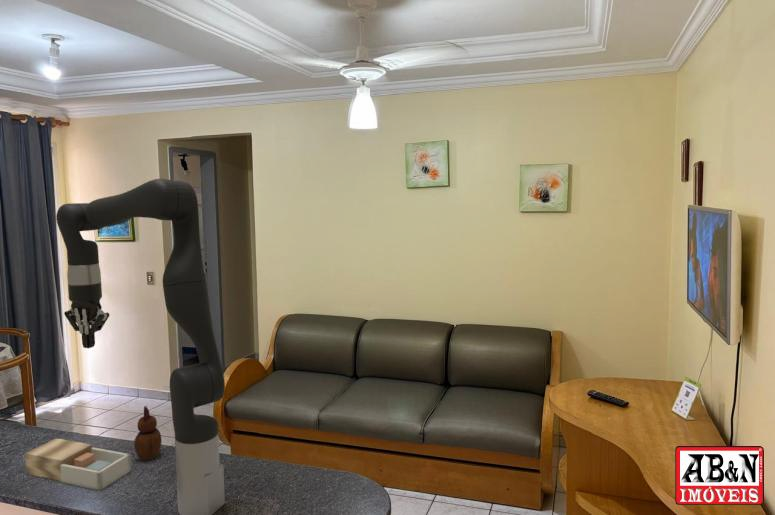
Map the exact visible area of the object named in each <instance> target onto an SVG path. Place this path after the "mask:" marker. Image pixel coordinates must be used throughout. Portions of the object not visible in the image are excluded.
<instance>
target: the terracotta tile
mask: <svg viewBox="0 0 775 515" xmlns="http://www.w3.org/2000/svg"><path fill="white" fill-rule="evenodd" d="M93 463H95V454H92V453H88V452H87V453H85V454H83V455H81V456H79V457H77V458H76V459H74V466H77V467H82V468H86V467H88V466H90V465H91V464H93Z"/></svg>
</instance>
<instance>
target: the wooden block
mask: <svg viewBox="0 0 775 515" xmlns="http://www.w3.org/2000/svg"><path fill="white" fill-rule="evenodd" d="M91 448H93V447H92V444H90V443H83V442H80V441H79V442H78V441H72V440H68V439H62V438H54V439H52V440H50V441H47V442H45V443H43V444H42V445H39V446H37V447H35V448H34V449H31V450H28V451H27V452H25V453H24V454H25V455H24V456H25V459H24V461H25V471H26V475H31V476H35V477H40V478H43V477H44V479H49V480H54V481H57V482H58V481H59V482H61V469H60V465H62V464H66V465H72V466H74V459H76V458H77V457H79V456H81V455H83V454H85V453H87V452H88V453H91Z"/></svg>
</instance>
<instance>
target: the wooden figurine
mask: <svg viewBox="0 0 775 515" xmlns="http://www.w3.org/2000/svg"><path fill="white" fill-rule="evenodd" d="M157 422H158V421H157V418H156V416H154V415H151V414H150V409H149V408H148V407H147V405H145V406H143V416H142V417H140V418H139V419H138V422H137V430H138V433H137V434H136V436H135V438H134V450H135V453H136V455H137V456H138V458H139V459H140V460H142V461H149V460H150V461H151V460H152V459H155V458H156V457H157V456H158V455H159V453H160V450H161V448H162V442H163V441H162V434H161V432H160V430H159V429H158V428H157V425H158V423H157Z"/></svg>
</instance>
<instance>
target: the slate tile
mask: <svg viewBox="0 0 775 515" xmlns="http://www.w3.org/2000/svg"><path fill="white" fill-rule="evenodd" d="M110 464H111V463H110V462H105V461H99V460H98V461H96V462H95V463H93V464H91V465H90V466H88V467H86V468H87V469H92V470H97V471H100V470H102V469H103V468H105V467H107V466H108V465H110Z"/></svg>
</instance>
